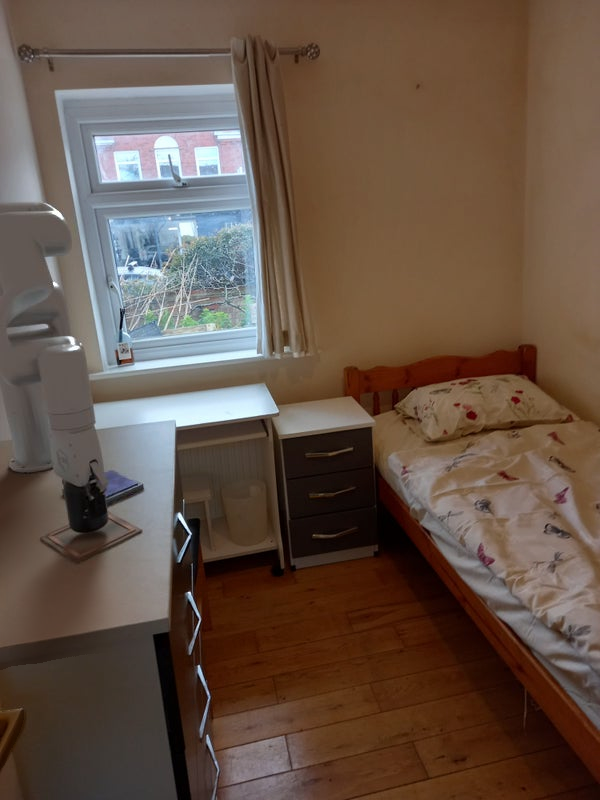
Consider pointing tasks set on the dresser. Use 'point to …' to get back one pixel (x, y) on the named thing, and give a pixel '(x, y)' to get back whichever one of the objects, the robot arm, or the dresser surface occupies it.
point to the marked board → (90, 539)
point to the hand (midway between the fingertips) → (86, 509)
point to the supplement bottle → (81, 509)
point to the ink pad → (119, 486)
